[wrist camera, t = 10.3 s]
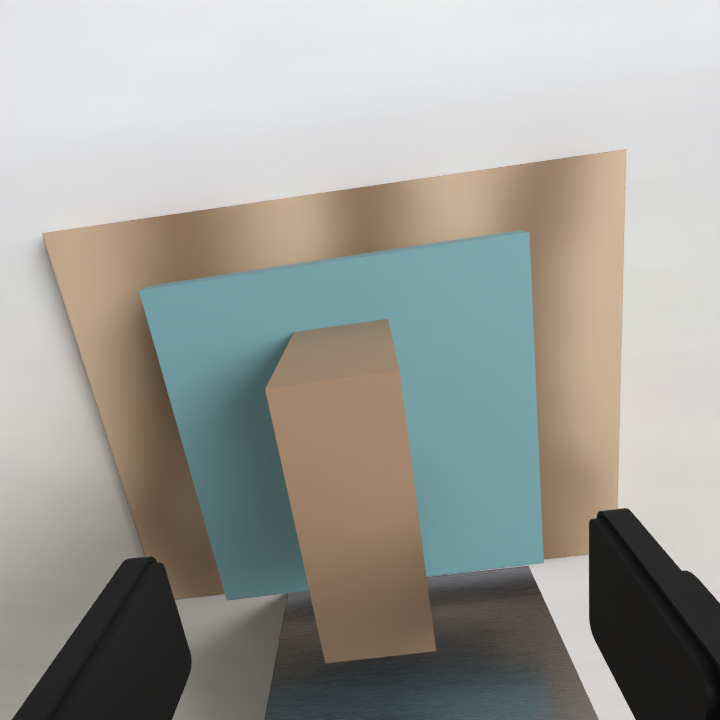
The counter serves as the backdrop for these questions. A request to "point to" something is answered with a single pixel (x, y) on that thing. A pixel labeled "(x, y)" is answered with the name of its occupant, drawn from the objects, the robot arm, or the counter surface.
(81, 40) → the counter surface
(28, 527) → the counter surface
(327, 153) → the counter surface
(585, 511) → the wooden board
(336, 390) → the lid
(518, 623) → the tin
